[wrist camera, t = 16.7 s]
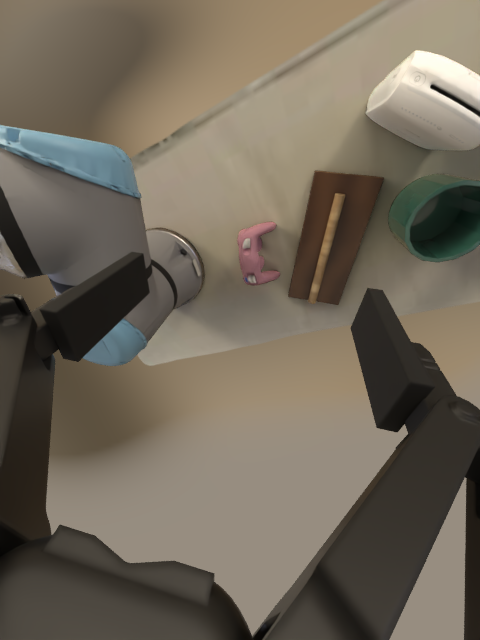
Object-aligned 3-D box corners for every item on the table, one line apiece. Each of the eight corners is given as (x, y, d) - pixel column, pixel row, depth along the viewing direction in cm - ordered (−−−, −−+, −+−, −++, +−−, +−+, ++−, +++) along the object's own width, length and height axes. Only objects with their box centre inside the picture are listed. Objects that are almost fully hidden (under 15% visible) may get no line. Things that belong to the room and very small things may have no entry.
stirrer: (324, 237, 47) (307, 303, 45) (336, 188, 34) (312, 278, 32) (332, 239, 46) (314, 305, 44) (347, 189, 33) (323, 280, 32)
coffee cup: (378, 238, 38) (392, 256, 32) (405, 170, 32) (428, 176, 26) (441, 246, 37) (468, 266, 31) (480, 177, 31) (523, 185, 25)
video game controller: (255, 219, 41) (228, 232, 37) (278, 219, 39) (252, 233, 34) (261, 274, 47) (239, 290, 42) (282, 277, 44) (260, 295, 40)
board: (288, 294, 46) (288, 296, 45) (315, 170, 34) (315, 171, 34) (337, 302, 45) (338, 305, 44) (382, 177, 33) (384, 177, 33)
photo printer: (357, 115, 30) (383, 101, 20) (382, 70, 28) (427, 28, 18) (428, 155, 31) (486, 159, 21) (458, 114, 29) (541, 97, 19)
